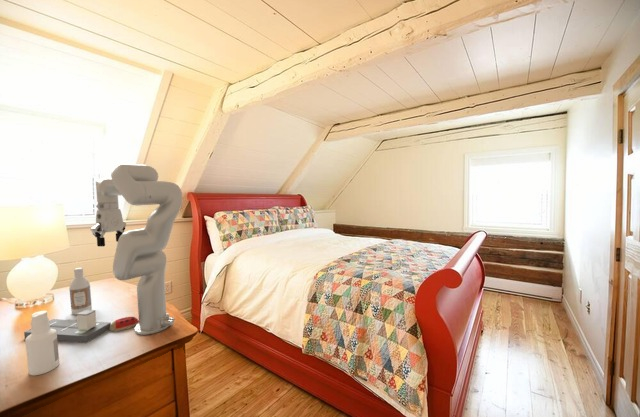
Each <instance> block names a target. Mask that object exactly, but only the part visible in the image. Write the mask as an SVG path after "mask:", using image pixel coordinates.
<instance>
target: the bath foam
mask: <svg viewBox="0 0 640 417" xmlns="http://www.w3.org/2000/svg"><path fill="white" fill-rule="evenodd" d="M73 272H74V273H73V274H74V278H72V280H71V282H70V284H69V297H70V298H69V299H70V310H71V312H70V313H71V314H72V315H76V316H77V314H78V313H80V312H82V311H84V310H93V309H92V308H93V307H92V306H93V305H92V293H91V285H90V280H89V279H88V278H87V277H86V276H84V269H83V267H76V268H74V269H73Z"/></svg>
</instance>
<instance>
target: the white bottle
mask: <svg viewBox="0 0 640 417" xmlns="http://www.w3.org/2000/svg"><path fill="white" fill-rule="evenodd" d="M30 316H31V321H30V329H31V333H32V334H30V335H29V336H28V337H27V338H26V339H25V338H24V340H25V352H26V361H27V369H28V370H27V371H28V374H29V375H30V376H39V375H44V374H46V373H49V372H51V371H54V370H55V369H56V368H57V367H58V366H59V365H60V356H59V354H60V353H59V346H58V345H59V343H58V342H59V341H57V332H56V330H55V329H50V324H49V321H50V318H49V316H48V311H47V310H40V311H36V312H34V313H32V314H31V315H30Z"/></svg>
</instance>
